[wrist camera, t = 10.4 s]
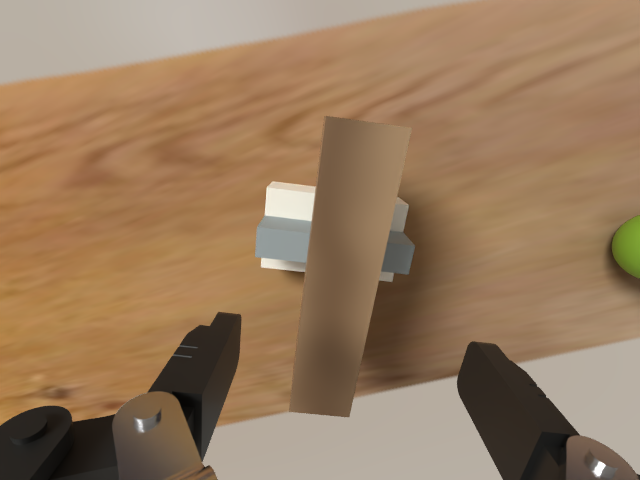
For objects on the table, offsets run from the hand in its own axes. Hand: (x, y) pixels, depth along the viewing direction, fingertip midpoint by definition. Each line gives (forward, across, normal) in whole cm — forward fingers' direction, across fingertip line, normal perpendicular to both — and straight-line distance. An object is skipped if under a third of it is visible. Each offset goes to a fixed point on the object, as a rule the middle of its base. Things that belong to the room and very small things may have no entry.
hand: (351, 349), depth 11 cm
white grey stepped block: (+16, 0, 0) cm, 16 cm away
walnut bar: (+10, 0, 0) cm, 10 cm away
